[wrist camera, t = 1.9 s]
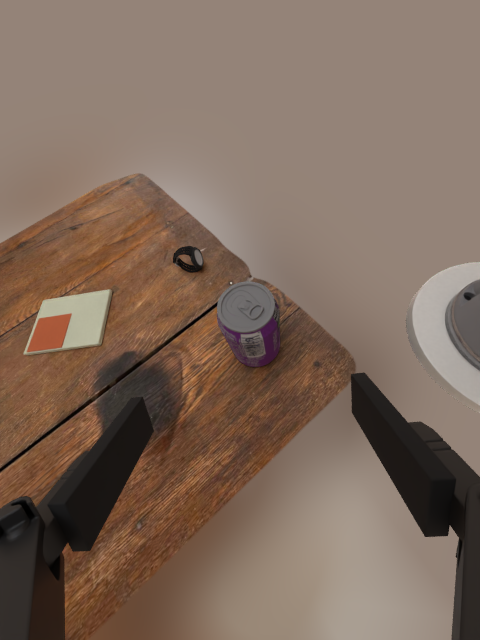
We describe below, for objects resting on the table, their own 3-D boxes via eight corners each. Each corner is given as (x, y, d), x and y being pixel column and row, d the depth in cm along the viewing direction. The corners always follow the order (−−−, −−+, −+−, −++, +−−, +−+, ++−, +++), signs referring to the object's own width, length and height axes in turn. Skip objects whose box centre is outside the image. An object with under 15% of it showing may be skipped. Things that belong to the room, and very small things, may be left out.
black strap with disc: (201, 279, 43) (191, 261, 38) (177, 273, 44) (165, 255, 40) (210, 262, 44) (202, 242, 40) (187, 256, 46) (177, 237, 42)
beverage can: (289, 338, 35) (292, 295, 25) (262, 378, 33) (253, 349, 23) (250, 316, 38) (238, 268, 27) (223, 351, 36) (199, 314, 25)
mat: (112, 291, 45) (109, 288, 44) (101, 345, 40) (97, 343, 39) (46, 302, 46) (42, 299, 46) (27, 355, 41) (22, 353, 40)
